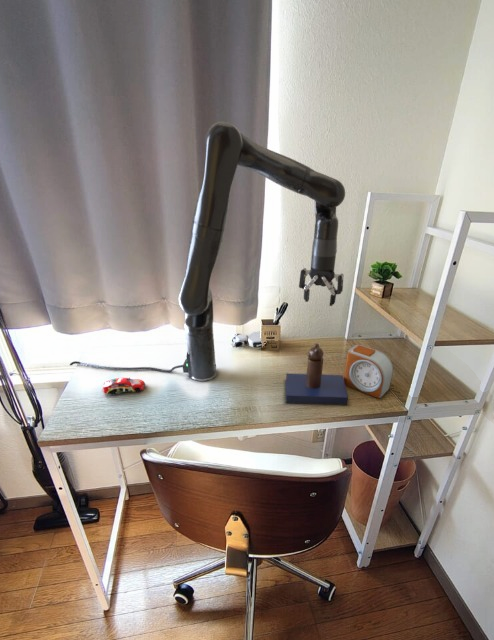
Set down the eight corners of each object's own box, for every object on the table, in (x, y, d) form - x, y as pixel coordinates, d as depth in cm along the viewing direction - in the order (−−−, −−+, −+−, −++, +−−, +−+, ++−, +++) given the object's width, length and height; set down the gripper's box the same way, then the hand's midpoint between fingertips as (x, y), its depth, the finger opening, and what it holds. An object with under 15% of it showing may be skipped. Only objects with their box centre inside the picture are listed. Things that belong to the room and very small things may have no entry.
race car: (146, 383, 128) (144, 373, 126) (145, 392, 124) (143, 382, 121) (105, 387, 125) (102, 377, 123) (103, 396, 121) (100, 385, 119)
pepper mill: (304, 388, 123) (308, 349, 115) (304, 380, 128) (307, 342, 119) (321, 388, 124) (325, 349, 115) (319, 381, 128) (324, 342, 119)
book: (286, 403, 121) (286, 395, 120) (286, 380, 133) (286, 373, 131) (347, 405, 121) (348, 397, 120) (341, 382, 133) (342, 375, 131)
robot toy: (231, 353, 150) (268, 352, 150) (229, 343, 148) (267, 341, 147) (234, 340, 160) (268, 338, 160) (233, 330, 158) (268, 329, 157)
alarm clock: (340, 383, 132) (345, 349, 124) (352, 374, 138) (357, 341, 130) (379, 399, 125) (386, 364, 117) (389, 388, 131) (397, 354, 123)
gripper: (298, 252, 115) (295, 303, 124) (343, 258, 111) (336, 310, 120) (306, 247, 120) (302, 296, 130) (349, 253, 116) (342, 303, 126)
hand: (319, 303), depth 125 cm, fingers open, 8 cm apart
